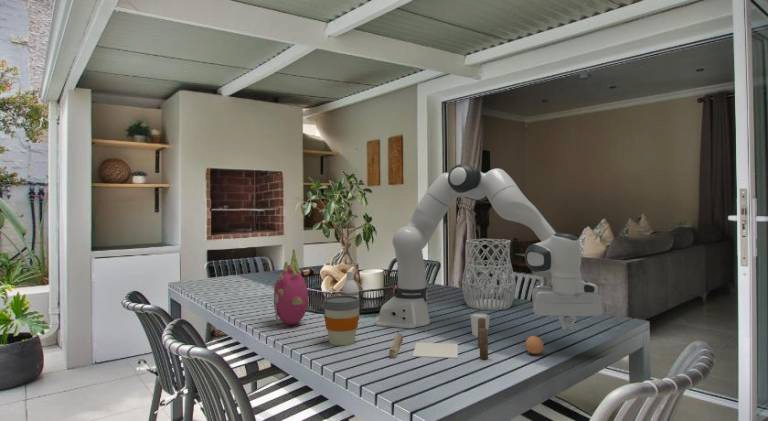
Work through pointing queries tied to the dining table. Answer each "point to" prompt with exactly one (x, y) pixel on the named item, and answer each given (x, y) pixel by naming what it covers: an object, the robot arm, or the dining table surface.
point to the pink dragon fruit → (290, 294)
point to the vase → (488, 277)
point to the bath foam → (350, 286)
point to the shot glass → (475, 322)
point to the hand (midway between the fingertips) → (567, 329)
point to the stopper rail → (396, 345)
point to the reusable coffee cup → (341, 319)
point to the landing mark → (436, 350)
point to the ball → (534, 345)
